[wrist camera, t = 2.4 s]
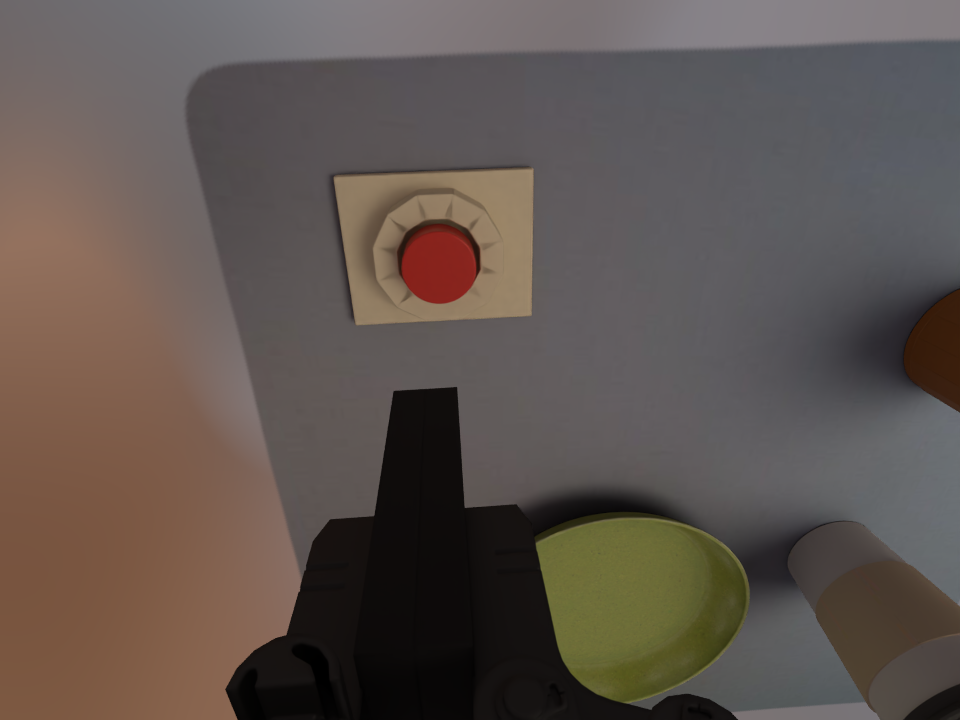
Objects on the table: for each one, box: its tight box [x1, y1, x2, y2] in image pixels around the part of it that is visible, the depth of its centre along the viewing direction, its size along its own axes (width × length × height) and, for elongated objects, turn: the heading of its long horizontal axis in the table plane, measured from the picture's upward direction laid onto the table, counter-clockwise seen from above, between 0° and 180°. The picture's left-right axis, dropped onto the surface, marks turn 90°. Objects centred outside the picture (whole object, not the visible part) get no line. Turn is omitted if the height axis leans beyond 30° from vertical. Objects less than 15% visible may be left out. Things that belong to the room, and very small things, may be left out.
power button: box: [401, 224, 477, 304], centre depth 26 cm, size 4×4×2 cm
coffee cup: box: [788, 521, 960, 720], centre depth 35 cm, size 9×9×15 cm
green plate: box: [534, 512, 750, 703], centre depth 40 cm, size 21×21×3 cm
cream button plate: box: [333, 167, 534, 325], centre depth 27 cm, size 10×8×2 cm
